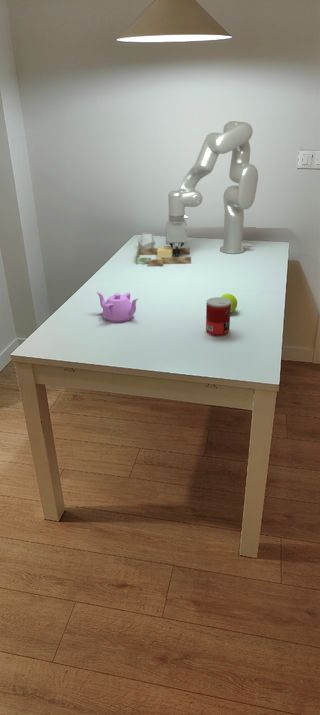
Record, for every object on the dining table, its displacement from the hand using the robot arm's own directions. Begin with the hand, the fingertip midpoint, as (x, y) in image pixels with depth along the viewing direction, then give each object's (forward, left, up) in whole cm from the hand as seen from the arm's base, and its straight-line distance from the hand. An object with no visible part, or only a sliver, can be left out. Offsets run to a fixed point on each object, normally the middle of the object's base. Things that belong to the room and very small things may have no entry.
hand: (176, 256), depth 250 cm
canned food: (-13, +86, -1) cm, 87 cm away
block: (+6, -2, -1) cm, 6 cm away
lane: (+6, 0, -1) cm, 7 cm away
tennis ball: (-18, +69, -1) cm, 71 cm away
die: (+15, -18, -1) cm, 24 cm away
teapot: (+22, +72, -2) cm, 75 cm away
